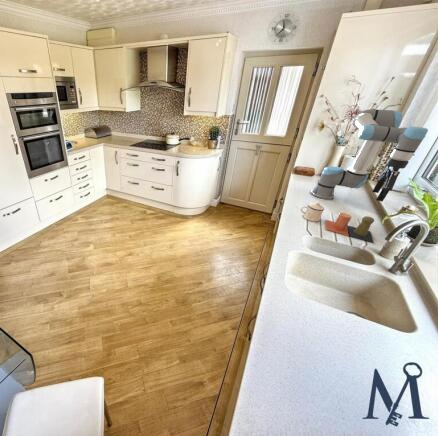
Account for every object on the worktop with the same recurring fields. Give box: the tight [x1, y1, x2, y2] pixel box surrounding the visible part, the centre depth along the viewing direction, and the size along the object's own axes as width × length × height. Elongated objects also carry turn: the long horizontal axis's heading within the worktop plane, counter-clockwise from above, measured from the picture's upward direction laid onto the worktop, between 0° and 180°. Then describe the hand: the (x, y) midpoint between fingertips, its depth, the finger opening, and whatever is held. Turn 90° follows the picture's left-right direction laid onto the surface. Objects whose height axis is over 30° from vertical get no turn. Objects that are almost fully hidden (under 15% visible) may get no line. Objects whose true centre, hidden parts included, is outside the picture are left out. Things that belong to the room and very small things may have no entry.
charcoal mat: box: [347, 225, 374, 244], centre depth 139 cm, size 14×11×1 cm
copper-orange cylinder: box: [333, 212, 352, 230], centre depth 142 cm, size 6×6×9 cm
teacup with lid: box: [300, 201, 325, 223], centre depth 152 cm, size 12×9×12 cm
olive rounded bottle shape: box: [354, 215, 375, 236], centre depth 137 cm, size 6×6×11 cm
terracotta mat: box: [325, 219, 350, 237], centre depth 145 cm, size 14×11×1 cm
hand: (376, 196), depth 131 cm, fingers open, 13 cm apart
